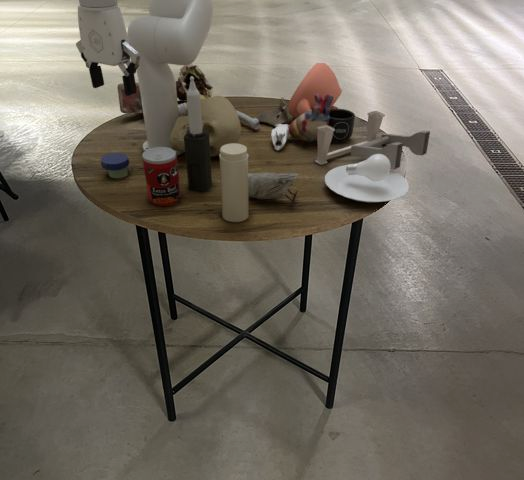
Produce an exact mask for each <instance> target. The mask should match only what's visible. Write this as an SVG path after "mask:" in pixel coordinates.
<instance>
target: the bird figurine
mask: <svg viewBox="0 0 524 480" xmlns="http://www.w3.org/2000/svg"><path fill="white" fill-rule="evenodd" d="M275 126H277V127H275ZM273 127H275V128H273V129H271V134H270V137H271V142H272V144H273V147H274V150H275V151H281V150H282V149H283V148H284V147H285V145H286V143H287V141H288V139H289V134H290V132H289V127H290V124H287V123H284V124H283V125H282V124H277V125H274V126H273Z"/></svg>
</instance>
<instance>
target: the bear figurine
mask: <svg viewBox="0 0 524 480" xmlns="http://www.w3.org/2000/svg"><path fill="white" fill-rule="evenodd" d="M178 75H179V76H178V78H177V80H175V82H176V92H177V100H178V101H180V102H185V103H187V101H184V100H187V92H188V90H189V86H190V81H191V80H190V77H191V76H192V77H194V83H195V86H196V89H197V90H198V91H199V93H200V95H202V96H204V97H205V99H206V98H209V97H213V96H212V95H213V90H214V87H213V86H212V85H211V83H210V82H209V81H208V79H207V78H206V75H205V74H204V73H203V71H202V70H201V69H200V68H199V66H198V65H196V64H190V65H182V66H181V68H180V69H179V73H178Z"/></svg>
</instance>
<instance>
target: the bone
mask: <svg viewBox="0 0 524 480" xmlns="http://www.w3.org/2000/svg"><path fill="white" fill-rule="evenodd" d="M235 110H236V109H235ZM236 112H237V114H238V117H239V120H240V121H242V122H243V123H245V124H247V125H249V127H250V128H251V129H253V130H254V131H258V130H259V129H260V128H261V124H260V121H259V120H258V119H256V118H254V117H253V118H252V117H251V116H249V115H247V114H245V113H243V112H241V111H239V110H236Z"/></svg>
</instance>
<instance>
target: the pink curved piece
mask: <svg viewBox="0 0 524 480" xmlns="http://www.w3.org/2000/svg"><path fill="white" fill-rule="evenodd" d="M342 92H343V90H342V88H341V87H340V84H339V81H338V78H337V77H336V74H335V73H334V71H333V69H331V67H330V66H329V64H327V63H325V62H316V63H315V64H314V65H313V66H312V67H311V68H310V70H309V71H308V72H307V73H306V75H305V76H304V78H303V79H302V80H301V81H300V83H299V85H298V86H297V87H296V89H295V91H294V92H293V94H292V95H291V96H290V99H289V100H288V102H287V110H288V112H289V115H290V116H292V117H293V118H295V119H297V118H298V117H299V116H300V115H302V114H304V113H306V112H308V111H310V110H312V107H313V105H314V104H315V94H320V95H321V96H322V98H324V97H325V96H326V95H327V94H331V95H332V96H333V100H332V103H331V106H330V109H339V107H338V106H335V103H336V102H337V100H338V99H339V98H340V96H341V95H342Z"/></svg>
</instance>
